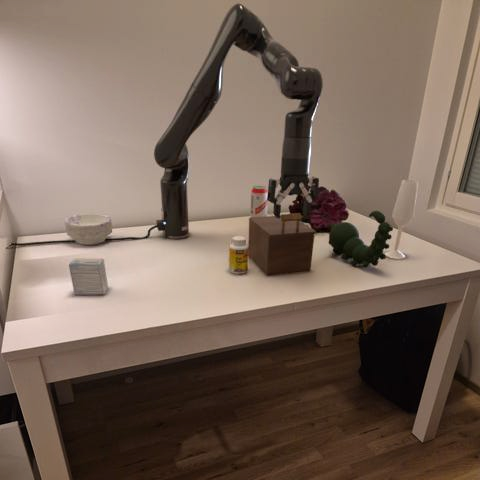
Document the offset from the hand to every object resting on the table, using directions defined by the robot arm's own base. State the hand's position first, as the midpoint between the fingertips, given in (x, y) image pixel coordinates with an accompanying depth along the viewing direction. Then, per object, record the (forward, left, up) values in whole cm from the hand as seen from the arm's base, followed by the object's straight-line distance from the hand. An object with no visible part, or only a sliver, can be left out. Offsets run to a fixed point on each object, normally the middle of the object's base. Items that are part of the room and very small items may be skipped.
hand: (291, 216), depth 118 cm
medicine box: (-56, 0, -17) cm, 59 cm away
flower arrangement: (+34, +46, -17) cm, 60 cm away
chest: (0, +7, -17) cm, 18 cm away
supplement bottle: (-14, +4, -17) cm, 22 cm away
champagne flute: (+41, +4, -17) cm, 44 cm away
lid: (0, +7, -5) cm, 8 cm away
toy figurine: (+24, +3, -17) cm, 29 cm away
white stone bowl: (-56, +44, -17) cm, 73 cm away
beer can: (+6, +43, -17) cm, 47 cm away
